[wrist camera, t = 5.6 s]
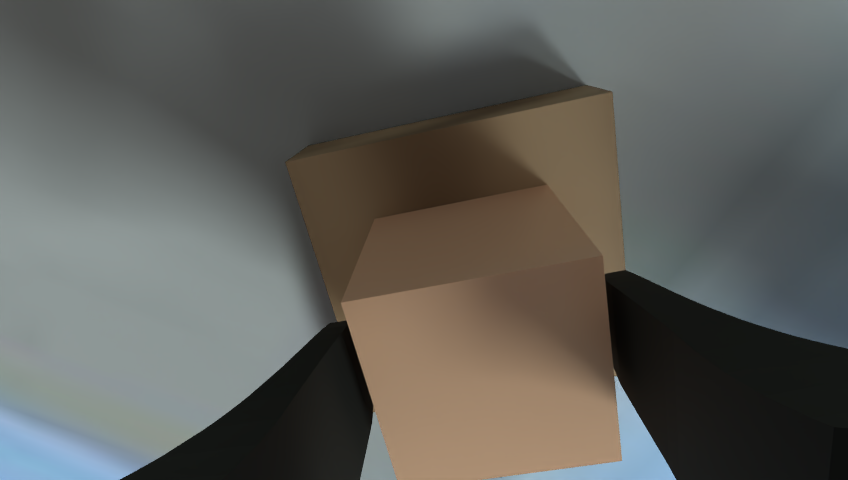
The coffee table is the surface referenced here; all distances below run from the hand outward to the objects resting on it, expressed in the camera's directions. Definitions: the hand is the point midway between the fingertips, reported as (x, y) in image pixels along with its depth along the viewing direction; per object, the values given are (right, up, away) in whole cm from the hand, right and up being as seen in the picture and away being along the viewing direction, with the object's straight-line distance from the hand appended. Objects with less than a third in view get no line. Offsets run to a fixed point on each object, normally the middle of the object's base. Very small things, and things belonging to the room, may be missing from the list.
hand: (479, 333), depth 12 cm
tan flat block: (0, +2, +6) cm, 6 cm away
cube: (0, +1, +3) cm, 3 cm away
